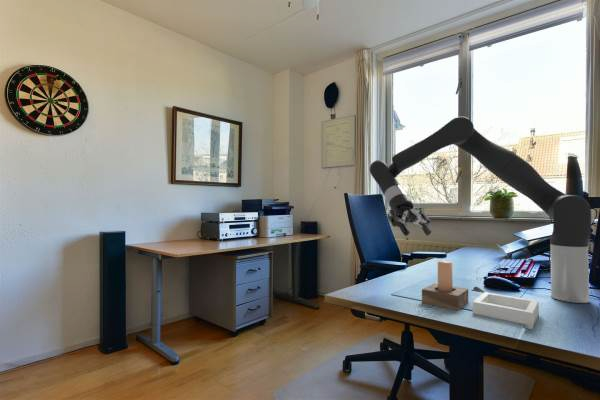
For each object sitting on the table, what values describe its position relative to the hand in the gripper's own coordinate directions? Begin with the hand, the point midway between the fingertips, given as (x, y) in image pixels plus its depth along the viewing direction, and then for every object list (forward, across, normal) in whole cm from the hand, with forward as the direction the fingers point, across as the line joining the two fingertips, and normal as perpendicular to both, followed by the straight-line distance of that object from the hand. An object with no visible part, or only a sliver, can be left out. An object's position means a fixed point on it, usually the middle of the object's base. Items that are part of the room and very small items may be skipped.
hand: (418, 234), depth 105 cm
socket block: (+23, 0, +6) cm, 23 cm away
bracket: (+17, +16, +13) cm, 26 cm away
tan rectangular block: (+22, 0, +5) cm, 23 cm away
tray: (+31, +9, -3) cm, 33 cm away
